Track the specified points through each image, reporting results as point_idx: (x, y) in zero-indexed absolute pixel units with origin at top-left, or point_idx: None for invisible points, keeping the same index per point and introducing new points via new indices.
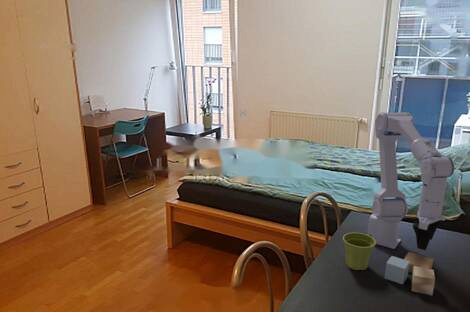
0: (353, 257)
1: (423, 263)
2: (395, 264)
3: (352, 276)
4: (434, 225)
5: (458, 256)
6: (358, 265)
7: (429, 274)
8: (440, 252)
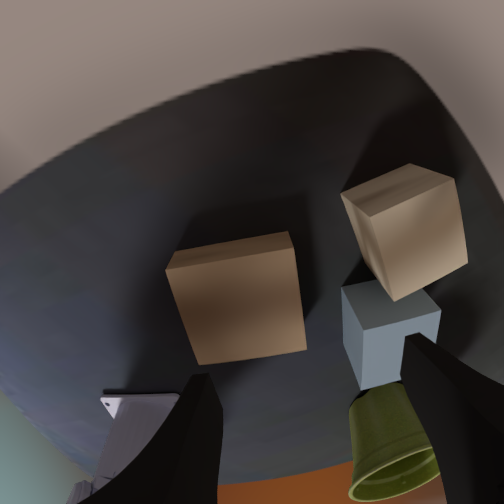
0: None
1: (251, 286)
2: None
3: None
4: (185, 487)
5: (9, 215)
6: None
7: (428, 215)
8: (39, 274)
